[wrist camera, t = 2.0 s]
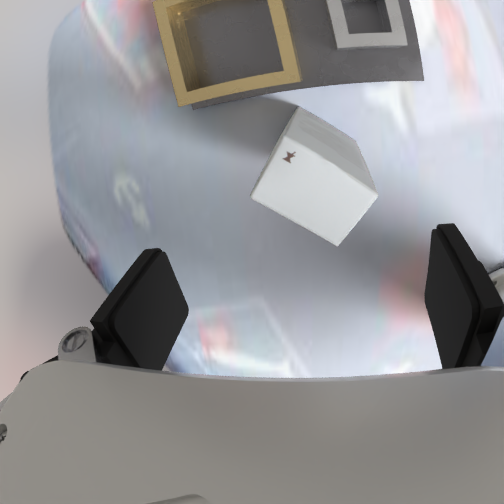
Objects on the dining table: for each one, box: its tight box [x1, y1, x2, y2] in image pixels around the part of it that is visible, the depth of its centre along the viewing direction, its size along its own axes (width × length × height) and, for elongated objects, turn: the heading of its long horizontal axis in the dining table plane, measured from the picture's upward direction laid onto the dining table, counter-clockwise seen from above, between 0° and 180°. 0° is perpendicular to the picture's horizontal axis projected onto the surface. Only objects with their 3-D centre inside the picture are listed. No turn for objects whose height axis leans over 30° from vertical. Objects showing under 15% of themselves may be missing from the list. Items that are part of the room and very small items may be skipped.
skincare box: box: [250, 106, 378, 246], centre depth 21 cm, size 6×4×12 cm
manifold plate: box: [152, 0, 424, 110], centre depth 19 cm, size 20×11×4 cm, turn 103°
